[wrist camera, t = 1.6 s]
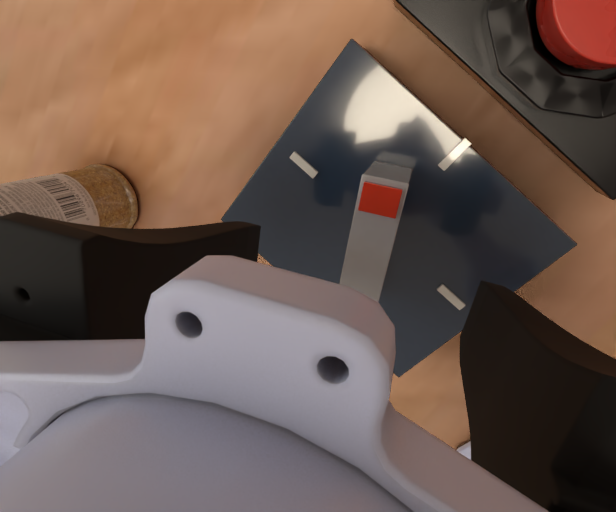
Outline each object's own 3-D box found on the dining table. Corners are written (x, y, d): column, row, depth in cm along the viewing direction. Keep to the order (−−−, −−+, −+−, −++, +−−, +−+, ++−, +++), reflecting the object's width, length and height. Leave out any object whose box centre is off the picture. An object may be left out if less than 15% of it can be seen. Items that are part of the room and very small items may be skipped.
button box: (809, 23, 14) (922, 0, 11) (596, 192, 17) (633, 211, 14) (558, -216, 13) (598, -313, 10) (394, 5, 17) (385, -16, 14)
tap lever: (380, 294, 19) (369, 337, 15) (347, 285, 19) (329, 326, 15) (413, 167, 16) (408, 185, 13) (375, 160, 16) (360, 174, 13)
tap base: (558, 222, 18) (581, 244, 15) (401, 346, 23) (396, 381, 20) (364, 45, 18) (352, 34, 15) (244, 207, 22) (217, 222, 20)
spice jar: (68, 177, 25) (-266, 245, 13) (120, 152, 23) (-210, 204, 11) (103, 242, 26) (-176, 361, 14) (154, 223, 24) (-112, 340, 12)
